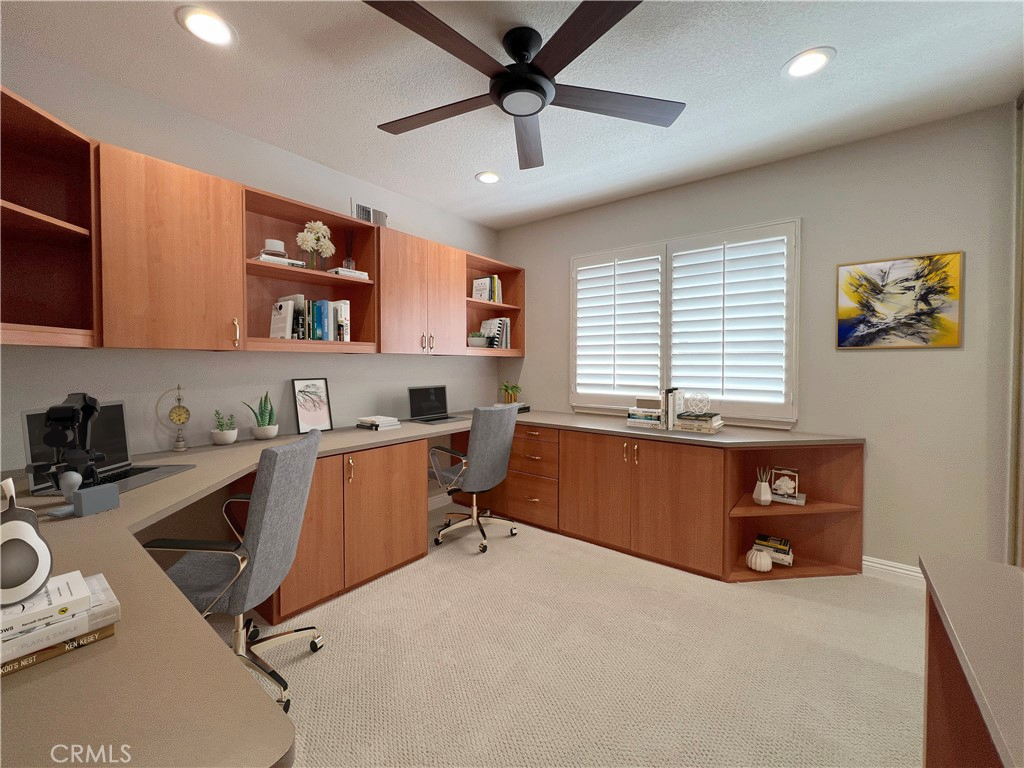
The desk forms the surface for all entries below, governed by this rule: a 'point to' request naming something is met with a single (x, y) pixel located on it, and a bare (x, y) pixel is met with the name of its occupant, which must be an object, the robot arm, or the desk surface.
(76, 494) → the blue-grey rectangular block
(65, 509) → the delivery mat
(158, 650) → the desk surface
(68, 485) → the lightbulb
